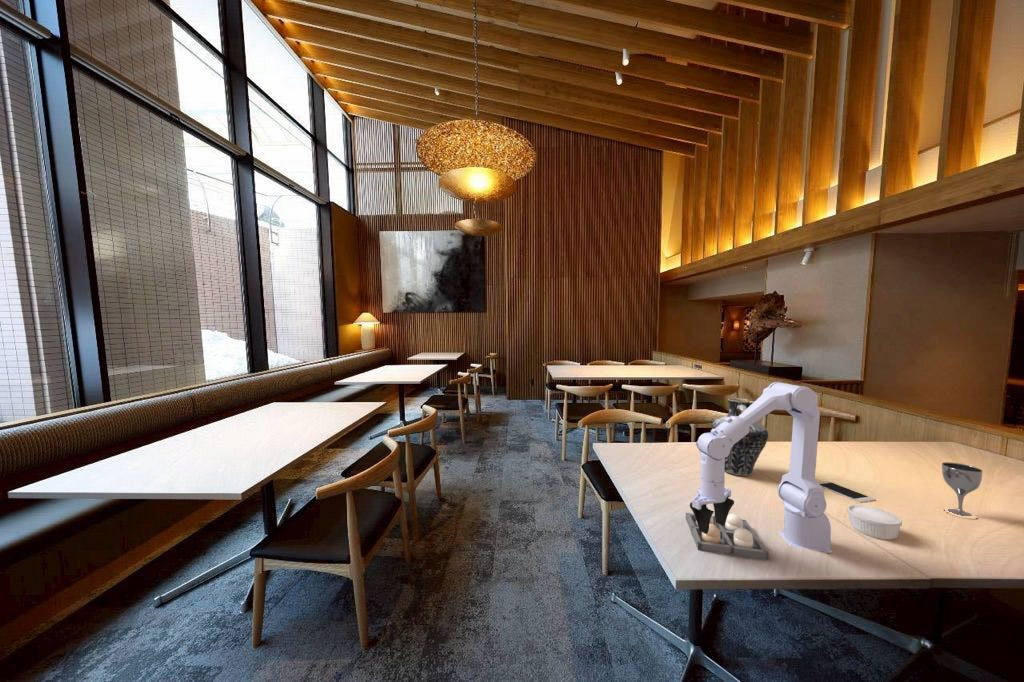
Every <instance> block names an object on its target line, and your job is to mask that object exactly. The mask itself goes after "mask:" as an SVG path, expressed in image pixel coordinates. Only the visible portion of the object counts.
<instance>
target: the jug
mask: <svg viewBox="0 0 1024 682" xmlns="http://www.w3.org/2000/svg"><path fill="white" fill-rule="evenodd" d="M754 402H755V401H754V400H750V399H748V398H740V397H739V398H737V397H733V398H732V397H731V398H727V403H728V409H729V411H728V413H727V414H726V415H724V416H721V417H719V418H717V419H715V420H714V421H713V422H712V424H711V430H712V429H715V428H716V427H717V426H719V425H720V424H721V423H723V422H724V421H725V420H724V419H725V418H726V417H730V416H739V415H740V414H742V413H743V412H744V411H745V410H746V409H747V408H748V407H749V406H750V405H751V404H753V403H754ZM768 438H769V431H768V429H767V428H766V427H765V426H764V425H763V424H761V423H759V422H758V421H756V422H755V423H753V424H752V425H750V426H749V433H748V434H747V435H746V436H744V437H743V438H742V439H740V440H739V441H738V442H736V443H735V444H734V445H733V447H732V448H731V450H730V453H729V455H728V457H725V472H726V473H729V474H732V475H735V476H742V477H743V476H744V477H745V476H746V477H747V476H750V475H752V474H753V470H754V466H755V465H756V463H757V461H758V459H759V457H760V455H761V453H762V451H763V450H764V448H765V446H766V444H767V442H768V440H769V439H768Z"/></svg>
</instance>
